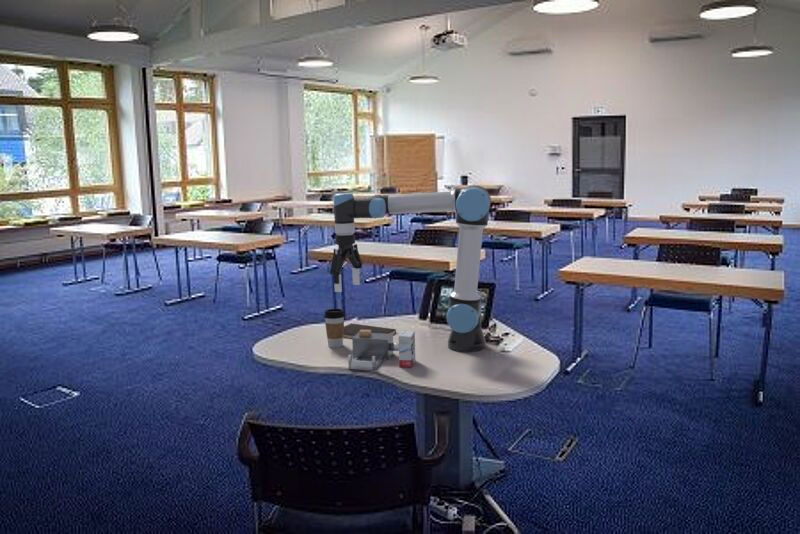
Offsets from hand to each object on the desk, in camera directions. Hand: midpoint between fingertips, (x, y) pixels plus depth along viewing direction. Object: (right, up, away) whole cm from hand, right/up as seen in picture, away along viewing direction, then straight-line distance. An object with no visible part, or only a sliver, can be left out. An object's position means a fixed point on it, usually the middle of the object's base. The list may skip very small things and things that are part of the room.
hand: (347, 288), depth 259 cm
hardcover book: (+5, -22, +30) cm, 37 cm away
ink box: (+23, -28, -10) cm, 38 cm away
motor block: (+12, -26, -1) cm, 29 cm away
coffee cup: (-6, -24, +14) cm, 29 cm away
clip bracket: (+8, -28, -10) cm, 31 cm away
